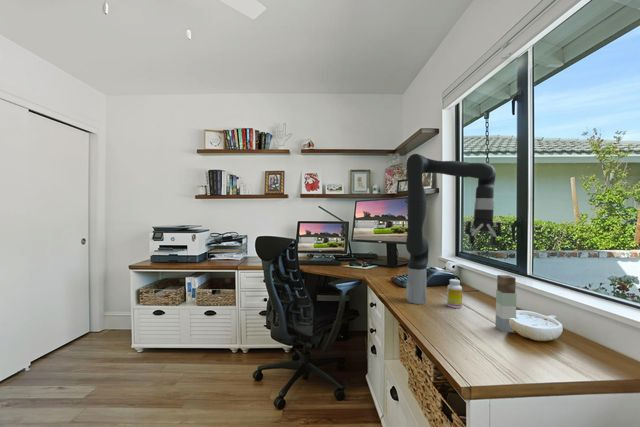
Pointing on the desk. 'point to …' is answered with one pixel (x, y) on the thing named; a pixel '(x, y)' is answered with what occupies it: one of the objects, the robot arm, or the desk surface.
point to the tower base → (503, 324)
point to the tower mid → (505, 311)
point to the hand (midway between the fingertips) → (482, 244)
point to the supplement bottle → (454, 294)
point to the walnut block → (506, 283)
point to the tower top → (506, 298)
